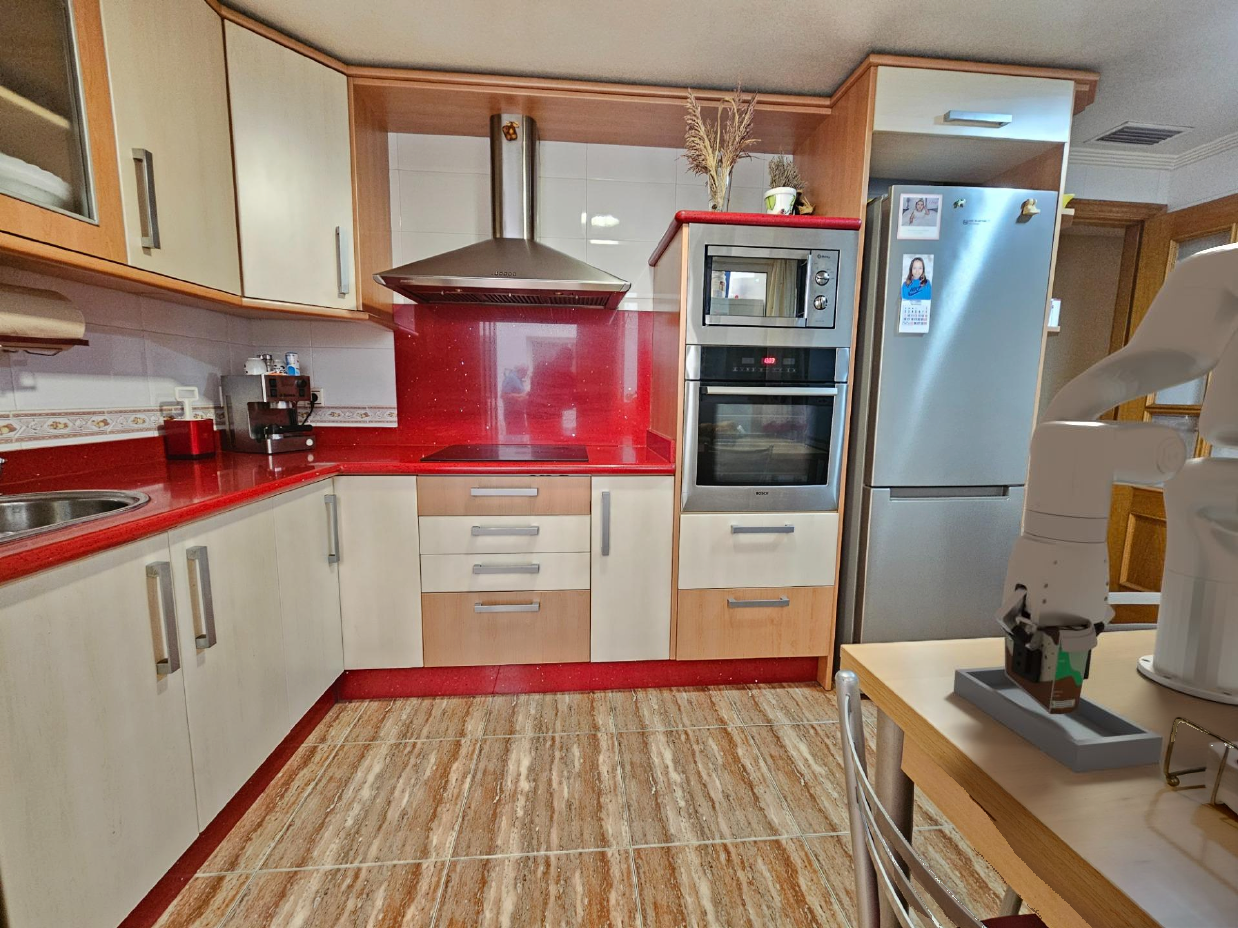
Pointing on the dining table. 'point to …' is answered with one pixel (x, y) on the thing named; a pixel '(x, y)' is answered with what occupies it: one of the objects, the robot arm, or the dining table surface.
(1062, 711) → the food container
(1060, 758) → the tray
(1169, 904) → the dining table surface
